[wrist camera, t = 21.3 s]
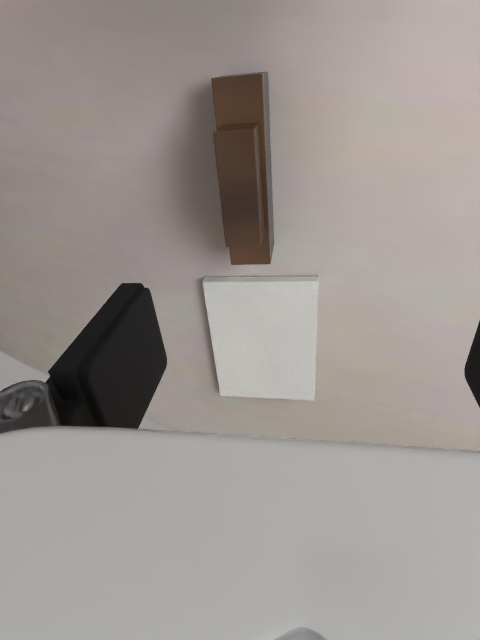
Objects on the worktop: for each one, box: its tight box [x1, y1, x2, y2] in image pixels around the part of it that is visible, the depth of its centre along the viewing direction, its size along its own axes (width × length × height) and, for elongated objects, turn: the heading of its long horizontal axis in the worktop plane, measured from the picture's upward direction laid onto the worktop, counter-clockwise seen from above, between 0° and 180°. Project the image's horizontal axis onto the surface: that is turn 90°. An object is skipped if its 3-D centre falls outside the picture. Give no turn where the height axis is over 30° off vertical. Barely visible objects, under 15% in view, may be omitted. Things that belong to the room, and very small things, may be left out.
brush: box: [211, 72, 274, 265], centre depth 26 cm, size 12×3×6 cm, turn 5°
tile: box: [202, 276, 318, 400], centre depth 37 cm, size 14×10×1 cm
